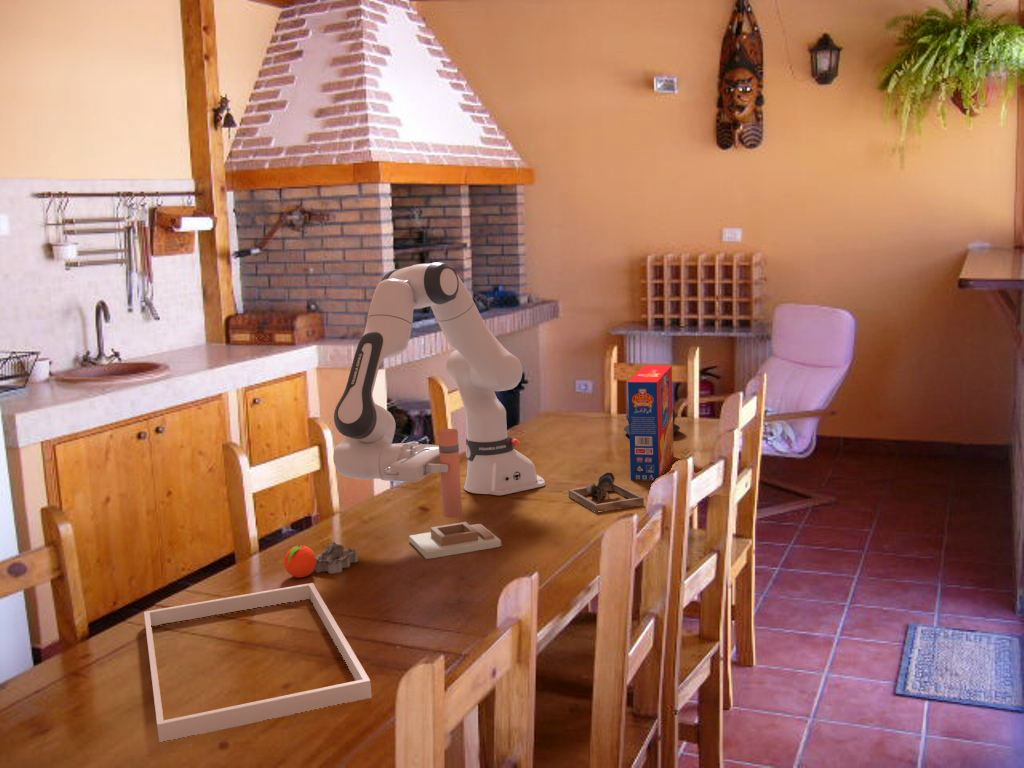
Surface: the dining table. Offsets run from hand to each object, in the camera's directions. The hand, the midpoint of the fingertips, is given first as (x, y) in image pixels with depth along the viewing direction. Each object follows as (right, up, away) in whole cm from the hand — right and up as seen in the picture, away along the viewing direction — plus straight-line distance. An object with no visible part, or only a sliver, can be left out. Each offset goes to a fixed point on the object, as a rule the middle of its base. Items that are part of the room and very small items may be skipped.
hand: (453, 464), depth 244 cm
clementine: (-33, -24, -14) cm, 43 cm away
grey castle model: (-26, -22, -7) cm, 35 cm away
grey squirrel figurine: (+37, -12, +35) cm, 53 cm away
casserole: (+60, +2, +107) cm, 123 cm away
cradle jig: (0, -19, +4) cm, 19 cm away
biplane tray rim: (-34, -31, -54) cm, 71 cm away
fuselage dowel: (0, -12, +2) cm, 12 cm away
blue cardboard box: (+55, -6, +64) cm, 84 cm away
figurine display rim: (+38, -12, +33) cm, 51 cm away
